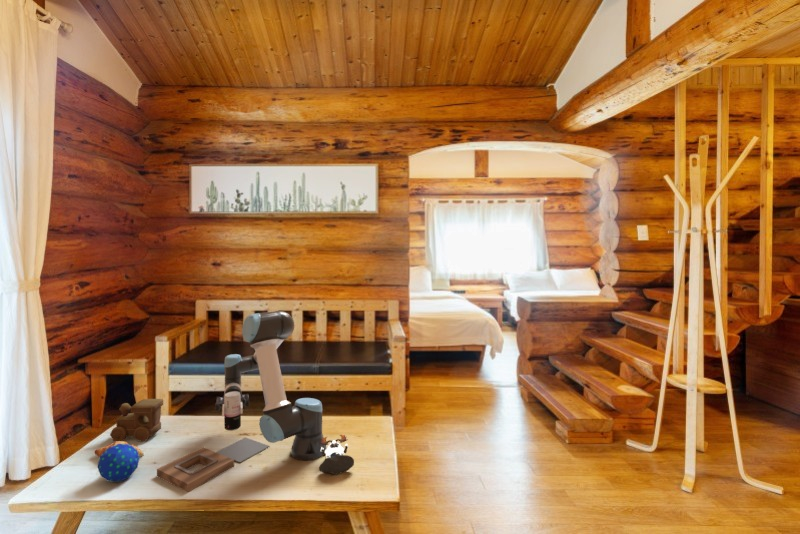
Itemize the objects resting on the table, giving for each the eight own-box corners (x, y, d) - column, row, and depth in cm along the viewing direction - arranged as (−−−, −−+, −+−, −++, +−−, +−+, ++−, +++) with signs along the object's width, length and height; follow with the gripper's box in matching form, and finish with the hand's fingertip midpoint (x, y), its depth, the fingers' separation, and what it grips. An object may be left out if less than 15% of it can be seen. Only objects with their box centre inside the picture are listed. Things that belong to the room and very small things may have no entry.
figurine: (318, 463, 158) (317, 434, 175) (320, 483, 160) (319, 453, 178) (354, 457, 161) (350, 430, 178) (355, 478, 163) (351, 448, 180)
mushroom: (114, 445, 168) (131, 430, 162) (136, 471, 168) (153, 457, 162) (79, 469, 155) (96, 454, 149) (103, 498, 155) (121, 484, 149)
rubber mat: (269, 447, 183) (269, 445, 183) (240, 463, 170) (240, 462, 170) (245, 438, 191) (245, 437, 191) (215, 453, 177) (215, 452, 177)
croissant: (147, 462, 176) (153, 442, 179) (133, 463, 167) (139, 442, 170) (99, 460, 176) (106, 440, 180) (83, 460, 167) (90, 439, 171)
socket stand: (233, 466, 167) (233, 458, 167) (188, 491, 150) (187, 483, 149) (203, 453, 177) (203, 446, 177) (156, 476, 159) (156, 467, 159)
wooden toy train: (165, 431, 198) (164, 397, 197) (151, 442, 186) (151, 407, 186) (123, 431, 197) (122, 398, 196) (107, 442, 186) (106, 407, 185)
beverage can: (221, 427, 176) (221, 394, 175) (236, 423, 181) (235, 390, 180) (228, 432, 172) (228, 397, 171) (243, 427, 177) (243, 393, 176)
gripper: (254, 398, 196) (256, 417, 175) (210, 403, 189) (207, 424, 168) (254, 383, 196) (256, 400, 175) (210, 388, 189) (206, 406, 167)
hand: (232, 411), depth 171 cm, fingers closed on beverage can, 6 cm apart
